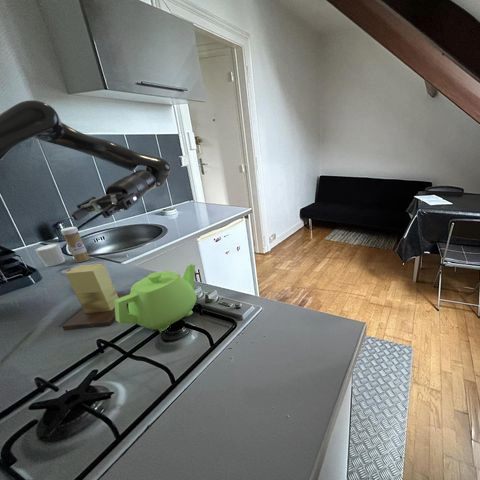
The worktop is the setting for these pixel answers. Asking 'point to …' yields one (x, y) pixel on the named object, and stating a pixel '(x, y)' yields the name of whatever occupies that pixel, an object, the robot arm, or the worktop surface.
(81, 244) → the sprinkles bottle
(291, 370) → the worktop surface
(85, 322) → the butter board
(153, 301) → the teapot
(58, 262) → the white squat cylinder
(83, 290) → the block
